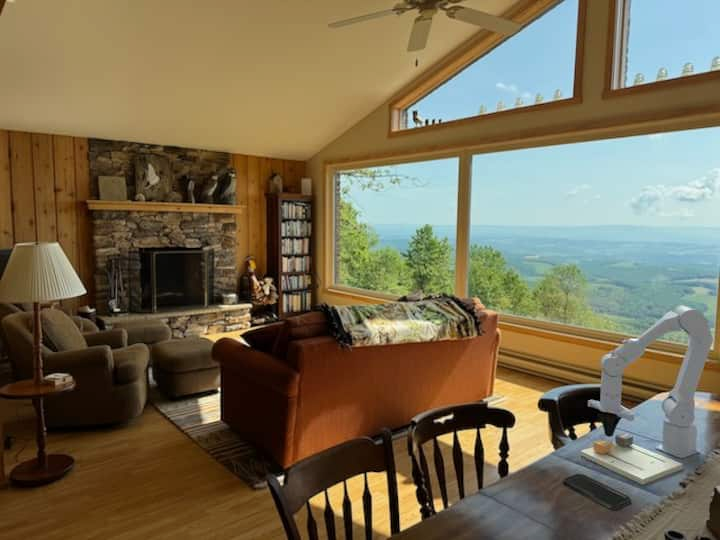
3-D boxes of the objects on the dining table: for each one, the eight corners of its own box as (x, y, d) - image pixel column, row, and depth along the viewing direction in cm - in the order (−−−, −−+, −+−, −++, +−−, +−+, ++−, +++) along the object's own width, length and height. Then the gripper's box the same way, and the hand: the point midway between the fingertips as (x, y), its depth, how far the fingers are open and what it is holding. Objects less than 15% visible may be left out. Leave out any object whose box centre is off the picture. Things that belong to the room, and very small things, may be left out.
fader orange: (602, 447, 149) (602, 439, 149) (611, 451, 146) (611, 442, 146) (593, 450, 147) (593, 441, 147) (602, 454, 144) (602, 445, 144)
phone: (580, 472, 136) (633, 498, 123) (580, 476, 136) (632, 503, 123) (560, 479, 132) (612, 507, 119) (560, 483, 132) (612, 511, 119)
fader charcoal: (623, 440, 153) (623, 432, 153) (632, 444, 151) (633, 436, 151) (615, 443, 152) (615, 435, 151) (624, 446, 149) (624, 438, 149)
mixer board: (619, 443, 156) (619, 438, 156) (682, 469, 139) (682, 463, 139) (580, 455, 147) (580, 450, 147) (642, 484, 131) (642, 479, 131)
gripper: (582, 388, 159) (580, 429, 160) (624, 402, 146) (622, 447, 147) (596, 385, 162) (595, 425, 163) (639, 398, 149) (637, 442, 151)
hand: (609, 435), depth 156 cm, fingers closed
